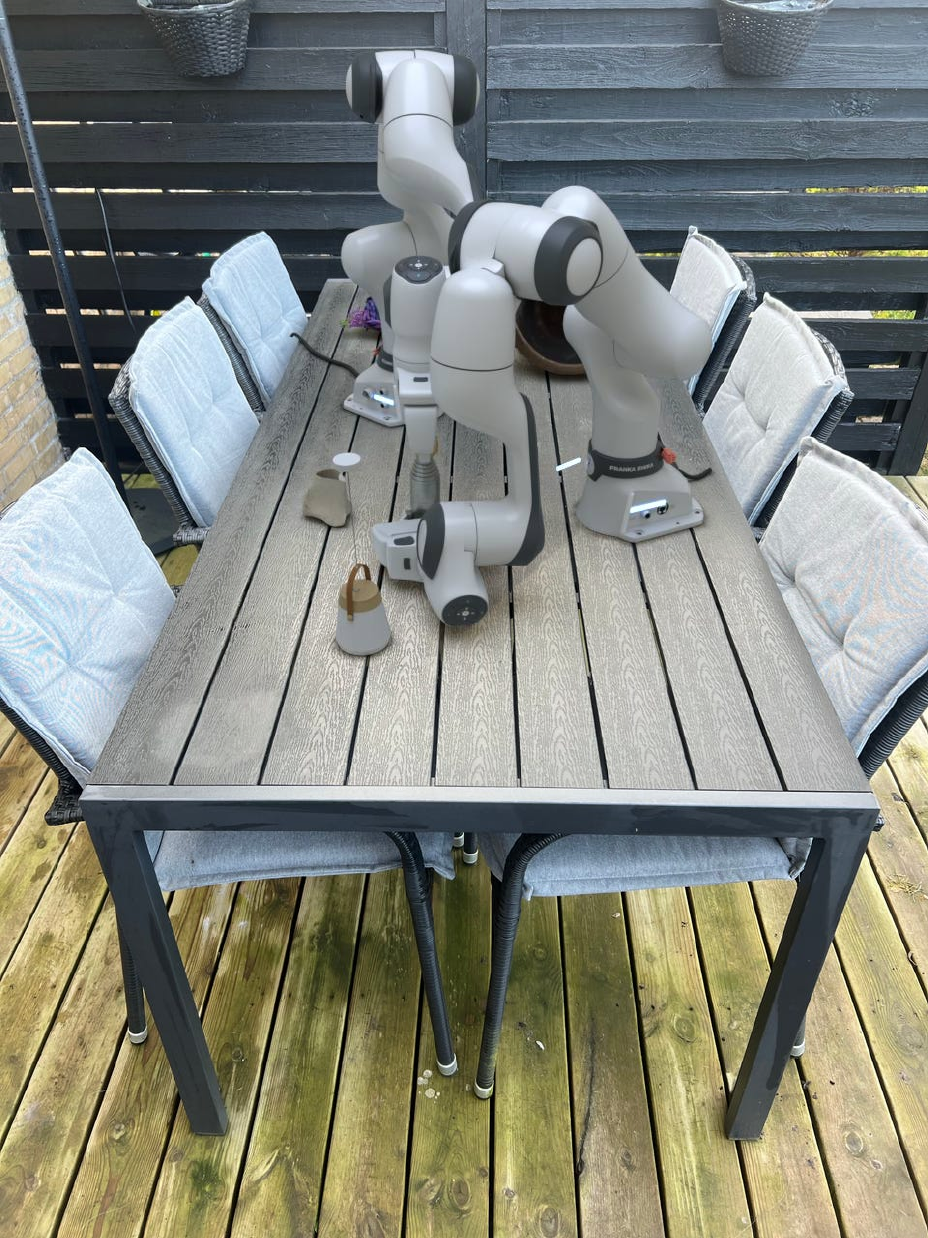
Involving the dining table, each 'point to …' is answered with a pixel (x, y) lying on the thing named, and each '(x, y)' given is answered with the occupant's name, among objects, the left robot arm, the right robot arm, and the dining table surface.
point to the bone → (327, 498)
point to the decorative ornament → (365, 317)
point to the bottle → (423, 486)
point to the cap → (434, 449)
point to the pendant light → (359, 596)
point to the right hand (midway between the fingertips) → (424, 511)
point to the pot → (545, 337)
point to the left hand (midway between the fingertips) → (425, 452)
